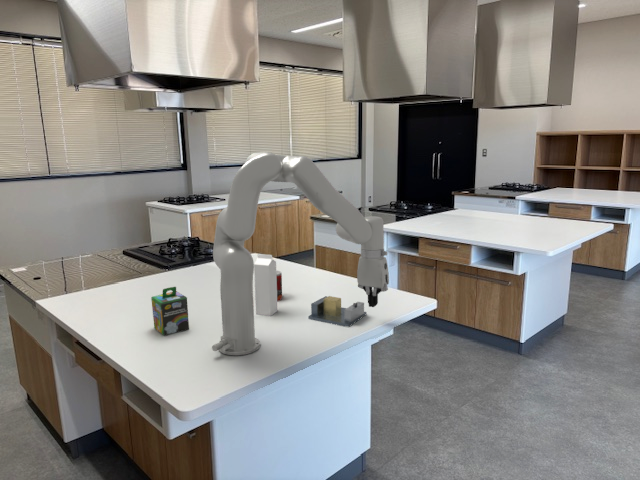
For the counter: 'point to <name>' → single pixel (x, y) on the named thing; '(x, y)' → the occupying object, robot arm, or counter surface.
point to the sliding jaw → (354, 311)
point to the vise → (319, 315)
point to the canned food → (279, 285)
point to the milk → (265, 285)
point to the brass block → (332, 305)
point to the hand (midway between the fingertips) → (372, 305)
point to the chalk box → (170, 312)
